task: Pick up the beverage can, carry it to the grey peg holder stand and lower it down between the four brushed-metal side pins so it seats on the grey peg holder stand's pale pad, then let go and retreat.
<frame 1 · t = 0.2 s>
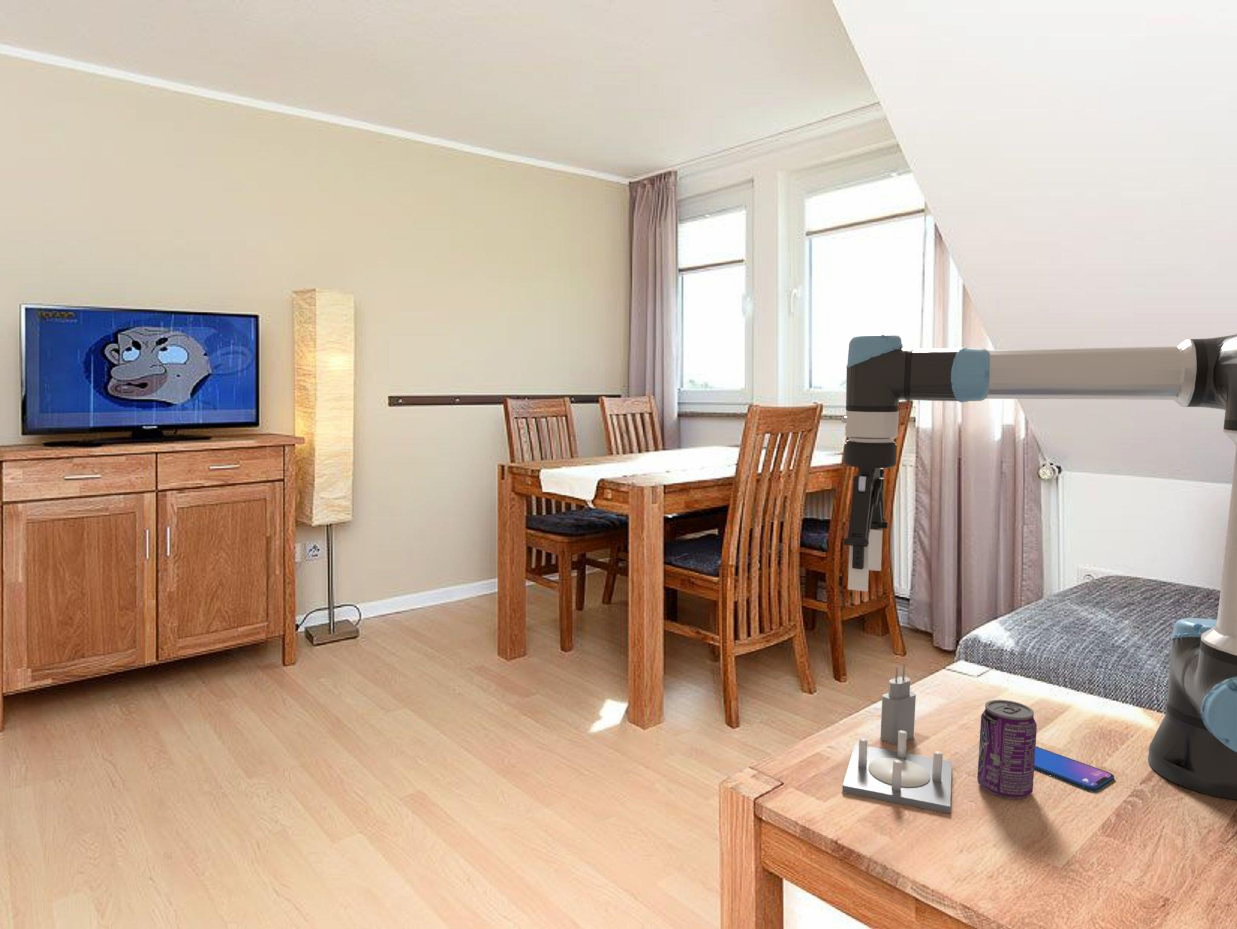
hand: (865, 579, 123), 27 cm above the table, fingers open, 13 cm apart
power adapter: (897, 738, 131), on the table
smartphone: (1052, 768, 122), on the table
beverage can: (1004, 790, 115), on the table
grey peg holder stand: (898, 779, 117), on the table
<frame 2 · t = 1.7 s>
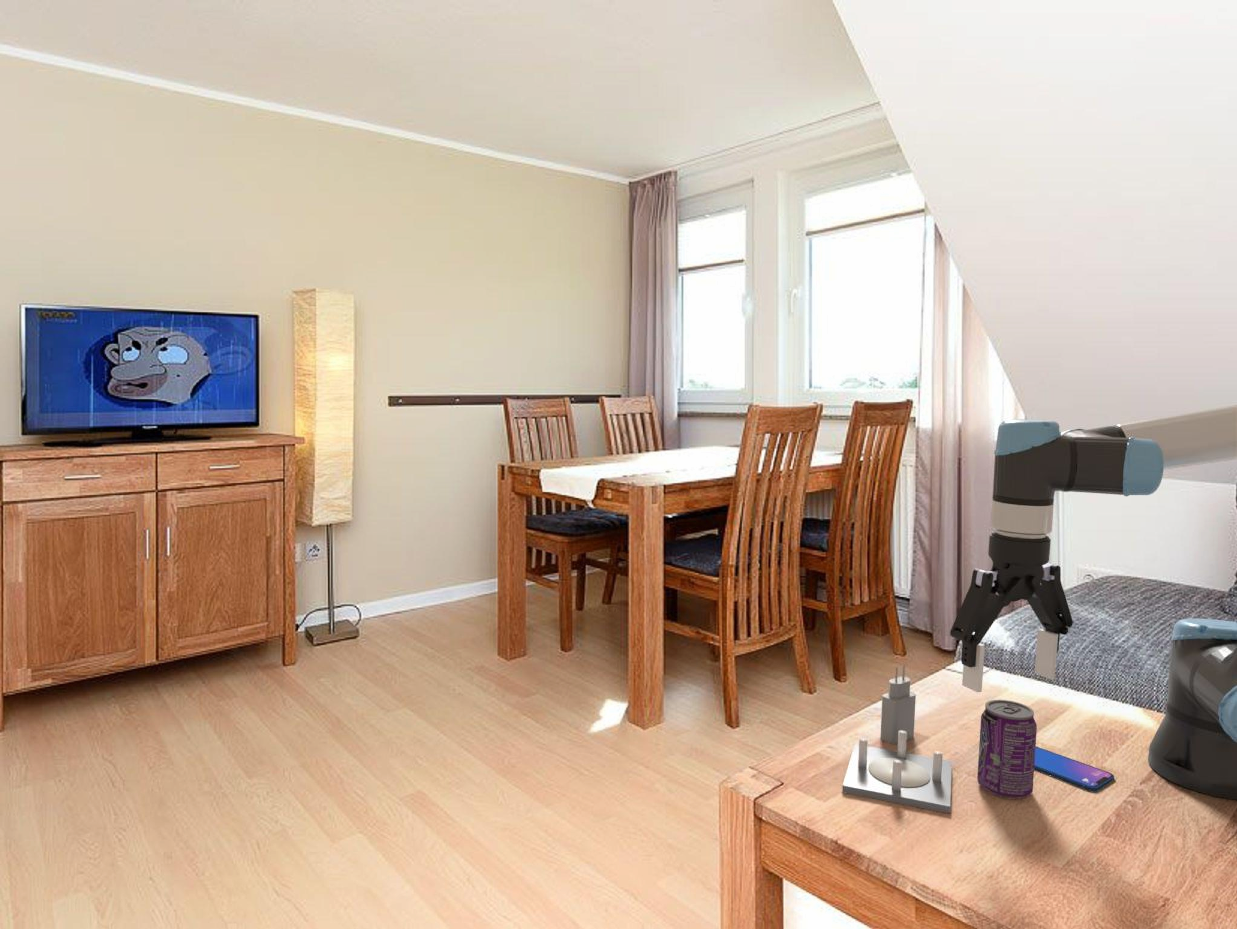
hand: (1008, 682, 113), 16 cm above the table, fingers open, 13 cm apart
nothing on the table moved.
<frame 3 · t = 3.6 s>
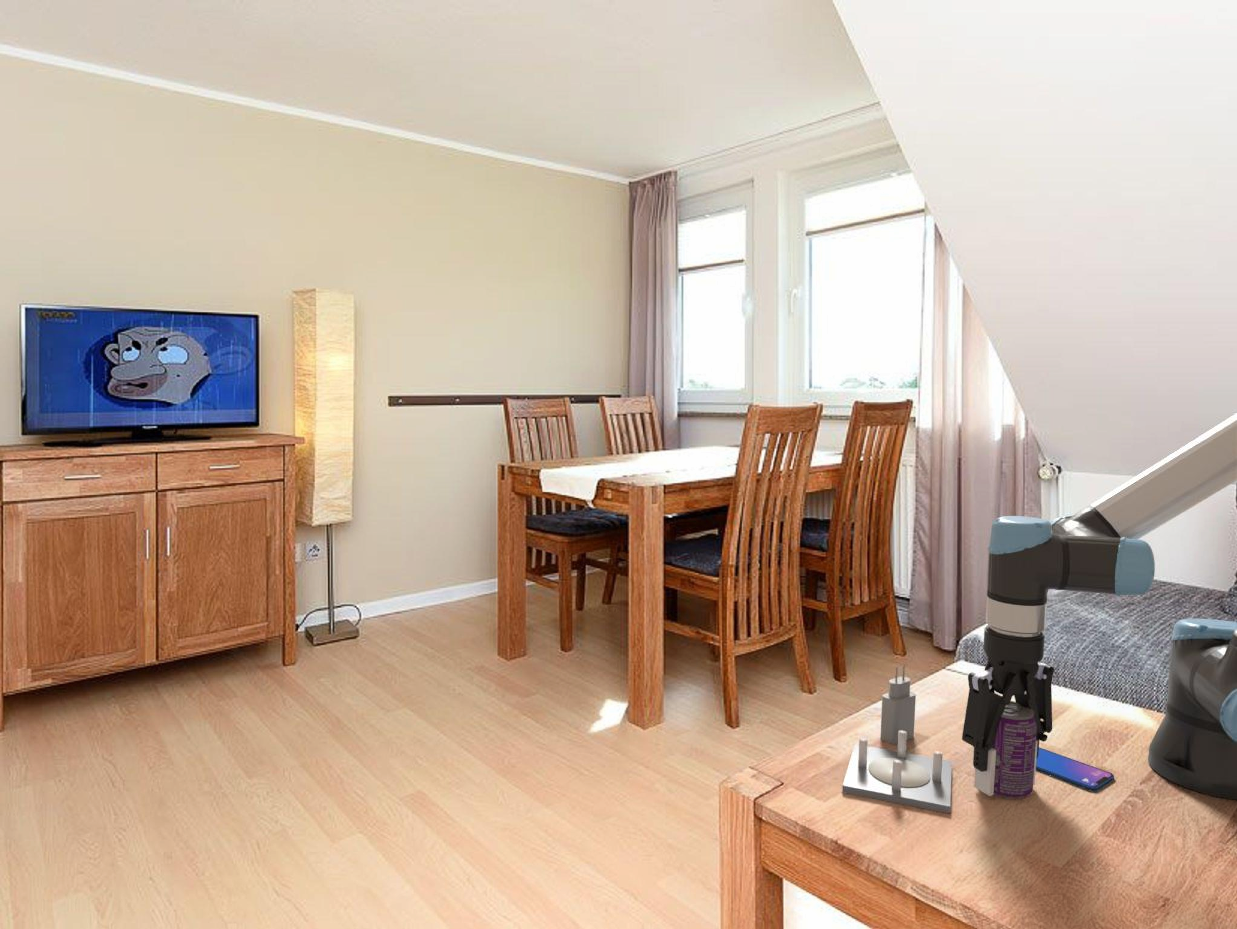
hand: (1004, 785, 114), 1 cm above the table, fingers closed on beverage can, 7 cm apart
beverage can: (1004, 790, 115), on the table, touching gripper
everything else where it was.
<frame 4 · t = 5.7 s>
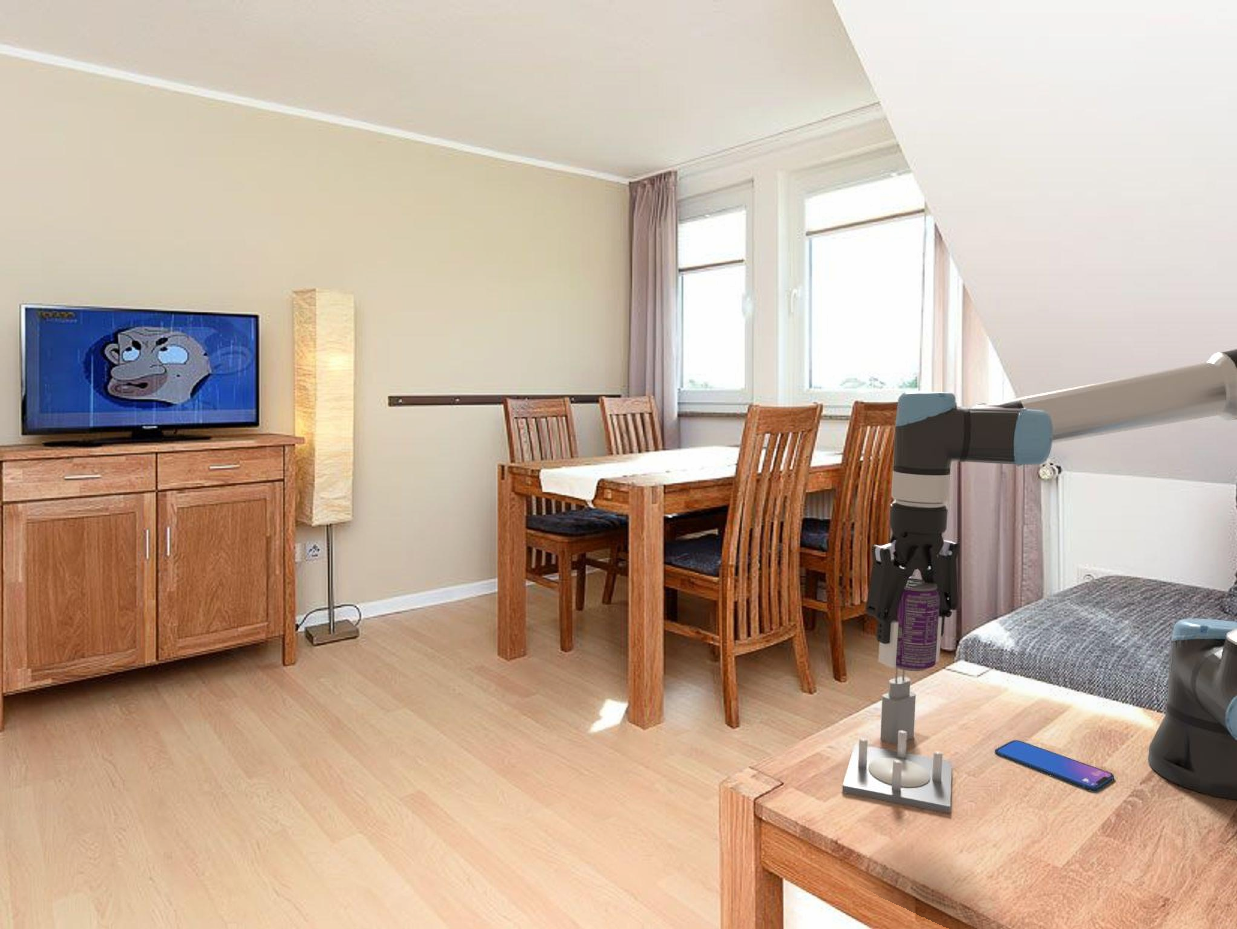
hand: (908, 661, 115), 18 cm above the table, fingers closed on beverage can, 7 cm apart
beverage can: (908, 666, 115), point 17 cm above the table, touching gripper
everything else where it was.
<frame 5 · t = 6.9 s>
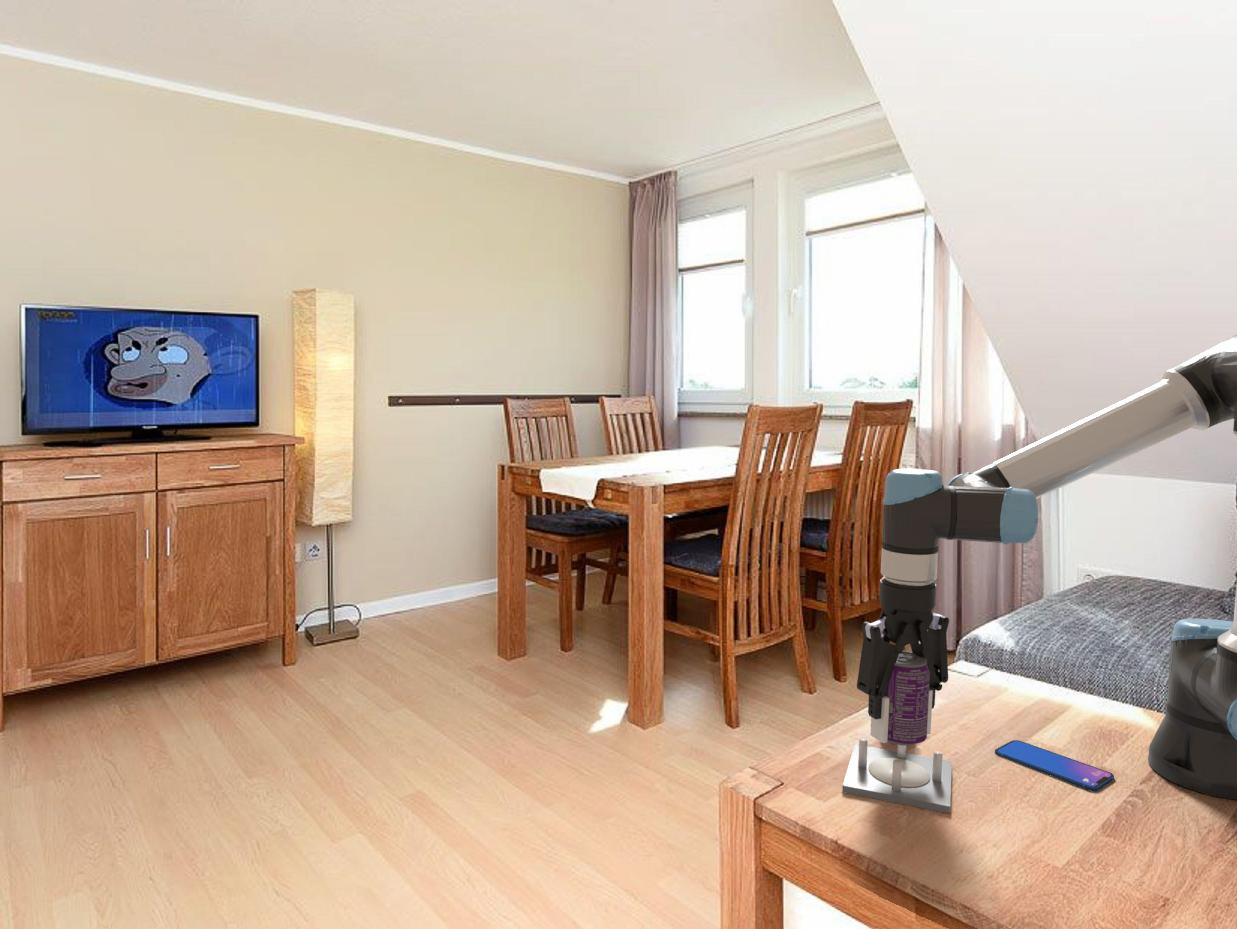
hand: (900, 734, 116), 7 cm above the table, fingers closed on beverage can, 7 cm apart
beverage can: (900, 739, 117), point 6 cm above the table, touching gripper
everything else where it was.
when the fingers open (3 cm above the table, at t = 7.8 s): beverage can drops 1 cm, resting on grey peg holder stand.
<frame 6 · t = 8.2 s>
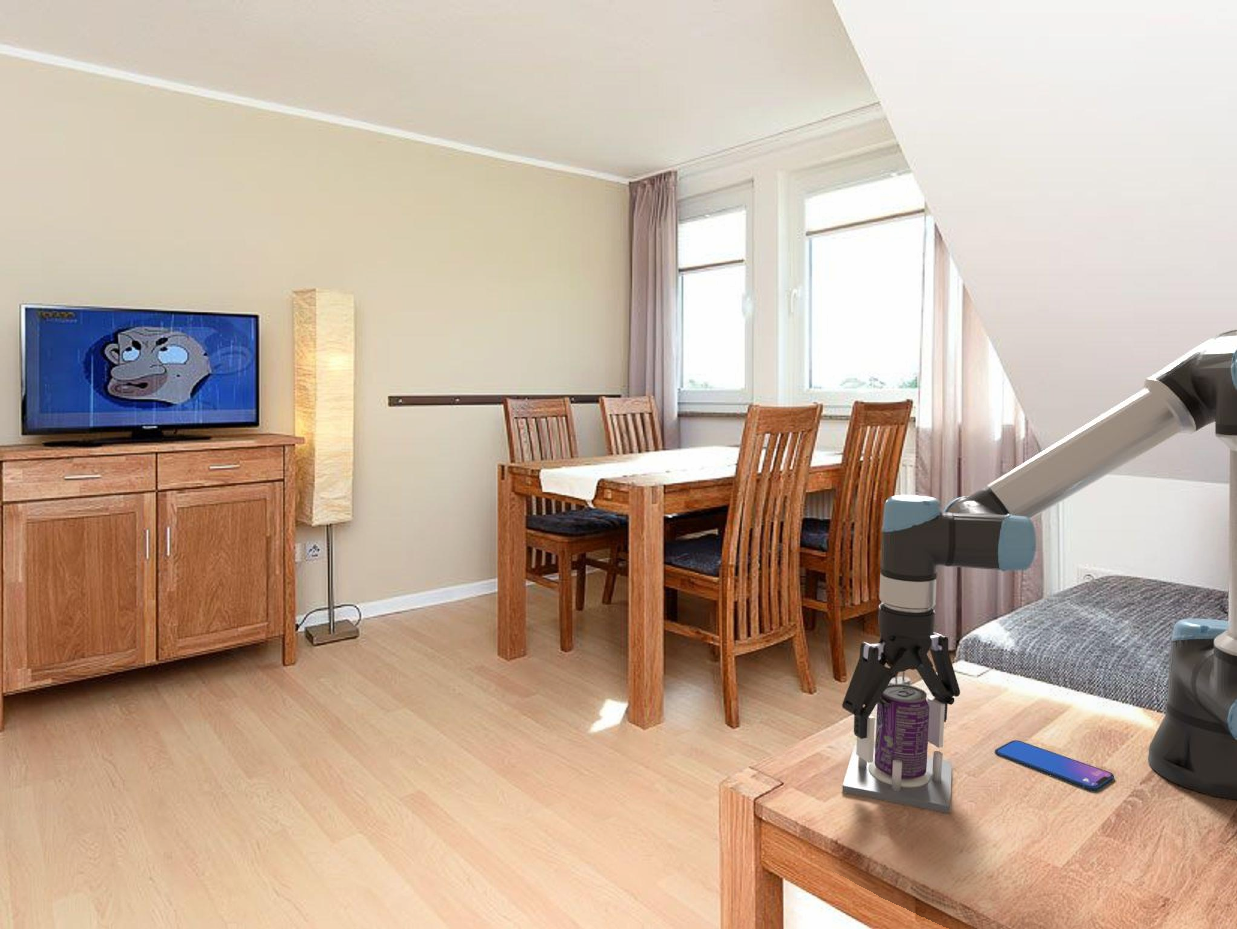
hand: (899, 750, 117), 4 cm above the table, fingers open, 12 cm apart
beverage can: (899, 772, 117), point 1 cm above the table, touching grey peg holder stand
everything else where it was.
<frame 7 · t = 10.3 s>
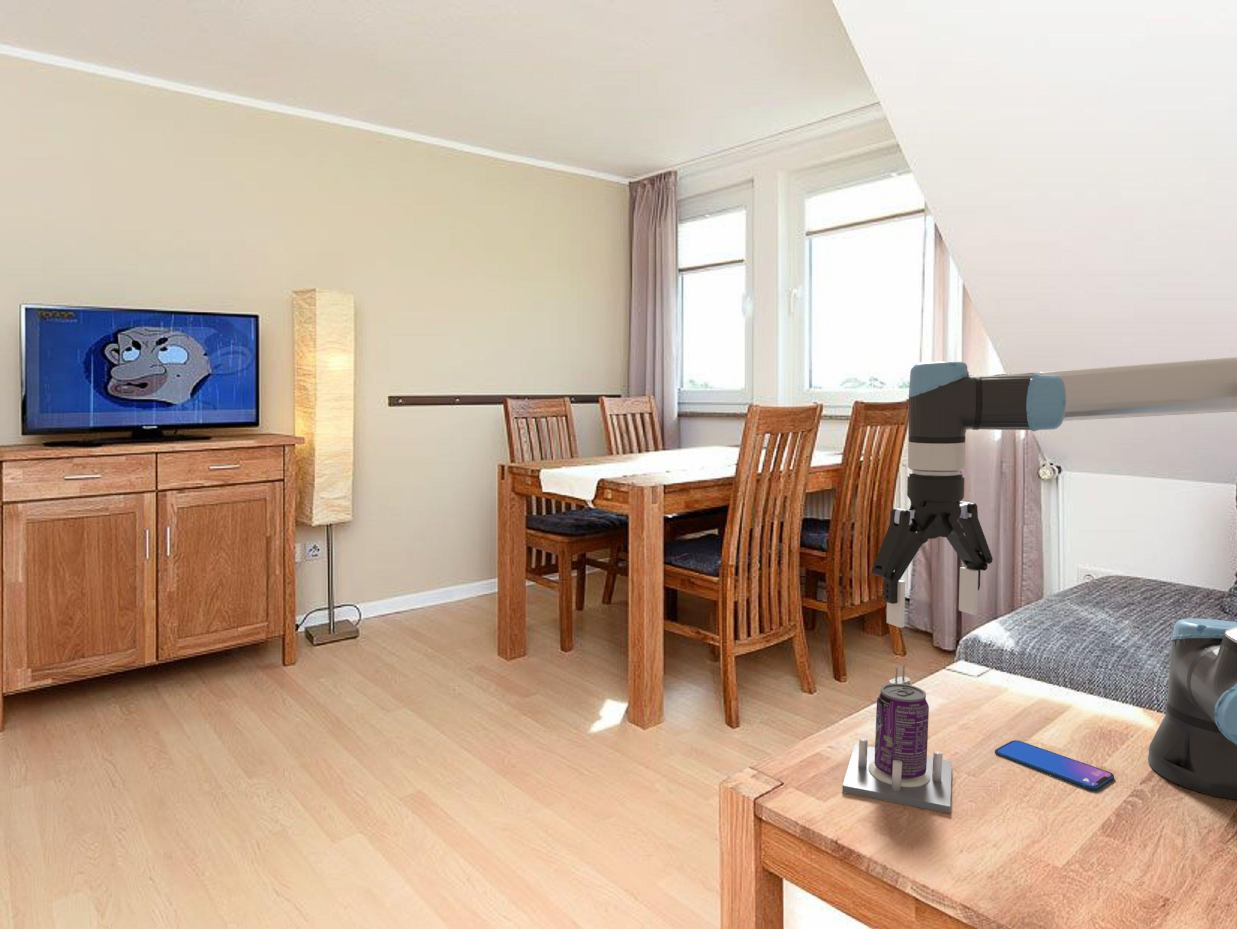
hand: (932, 618, 116), 23 cm above the table, fingers open, 13 cm apart
nothing on the table moved.
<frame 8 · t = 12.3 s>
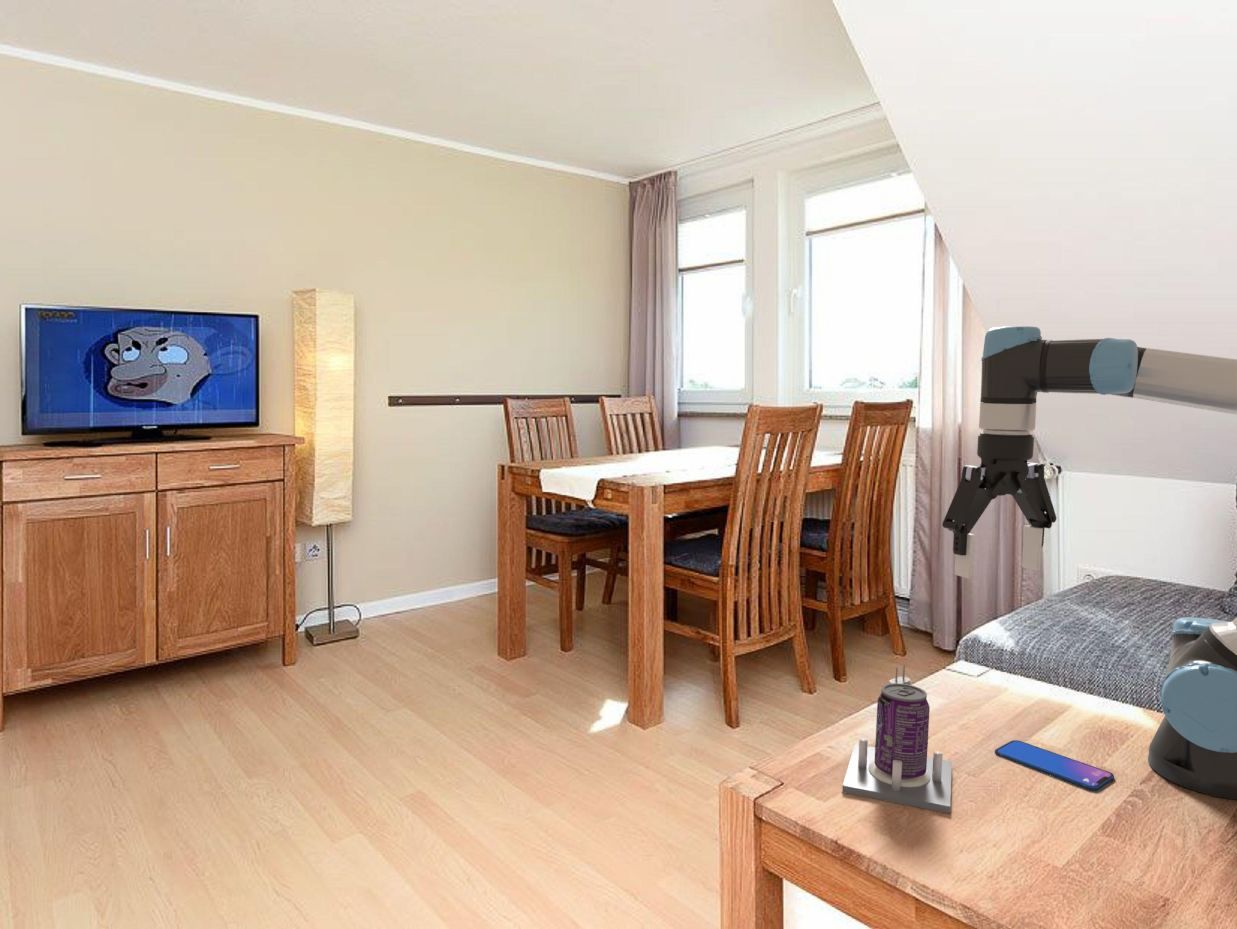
hand: (997, 572, 122), 29 cm above the table, fingers open, 13 cm apart
nothing on the table moved.
at the end: beverage can 0.1 cm off-centre on the grey peg holder stand, point 1.0 cm above the grey peg holder stand's base; beverage can tilted 1°; the gripper is holding nothing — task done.
